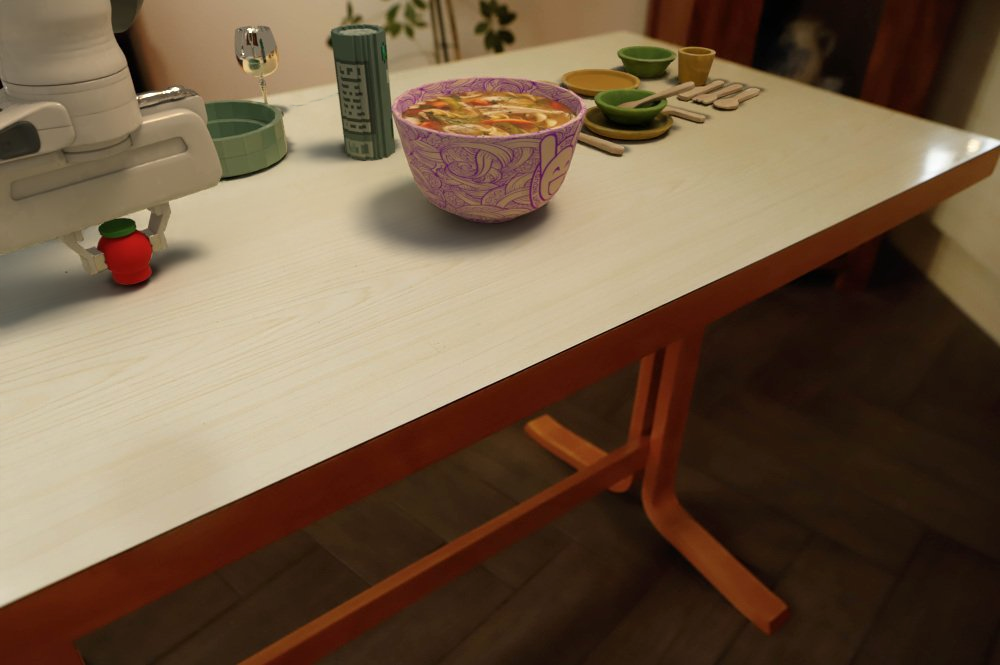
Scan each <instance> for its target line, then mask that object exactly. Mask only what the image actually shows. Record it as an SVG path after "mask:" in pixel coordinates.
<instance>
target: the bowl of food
mask: <svg viewBox="0 0 1000 665" xmlns="http://www.w3.org/2000/svg"><path fill="white" fill-rule="evenodd" d="M535 80H536V79H529V78H521V77H520V78H519V77H509V76H472V77H471V76H469V77H459V78H448V79H444V80H443V79H442V80H438V81H433V82H428V83H423V84H421V85H418V86H416V87H412V88H410V89H407V90H406V91H405V92H403V93H402V94H400V95H398V96H397V97H396V98H394V100H393V103H392V105H391V106H392V108H391V111H392V118H393V122H394V124H395V127H396V130H397V132H398V137H399V139H400V142H401V146H402V149H403V152H404V155H405V158H406V161H407V164H408V167H409V170H410V172H411V175H412V178H413V179H414V182H415V184H416V186H417V187H418V189H419V191H420V192H421V194H423V195H424V197H425V198H426V199H427V200H428V201H429V203H431V204H432V205H434V206H436V207H438V208H439V209H440V210H443V211H445V212H448V213H450V214H453V215H456V216H459V217H460V218H462V219H464V220H467V221H470V222H475V223H483V224H497V223H503V222H509V221H511V220H514V219H517V218H519V217H520V216H523V215H526V214H529V213H531V212H534V211H536V210H538V209H540V208H541V207H543V206H544V205H545V204H547V203H549V202H550V201H551V200H552V199H553V197H554V196H555V195H556V194H557V193H558V191H559V190H560V188H561V187H562V185H563V183H564V182H565V179H566V177H567V174H568V171H569V169H570V166H571V163H572V160H573V157H574V153H575V151H576V148H577V144H578V141H579V140H578V137H579V134H580V132H581V131H582V127H583V124H584V123H583V121H584V118H585V114H586V111H587V109H588V108H587V106H586V103H585V100H584V98H582V96H581V97H580V95H578V94H577V93H575V92H573V91H571V90H569V89H568V88H565V87H562V86H560V85H559V86H560V87H559V86H557V85H554V84H550V83H545V82H540V81H535Z"/></svg>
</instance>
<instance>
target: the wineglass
mask: <svg viewBox="0 0 1000 665" xmlns="http://www.w3.org/2000/svg"><path fill="white" fill-rule="evenodd" d="M234 54H235V59H236V62H237V65H238V66H239V68H240V70H241V71H242V72H243V73H245V74H246V75H248V76H251V77H254V78H258V79H259V80H258V86H259V89H260V91H261V93H262V97H263V103H267V104H269V103H268V98H267V97H268V96H267V82H266V80H265V78H266V77H268V76H270V75H272V74H273V73H275V72H276V71H277V70H278V67H279V65H280V54H279V49H278V45H277V41H276V39H275V37H274V34H273V31H272V29H271V27H269V26H265V25H247V26H240V27H237V28H236V29H235V30H234ZM281 112H282V111H281ZM284 117H285V113H284V112H282V118H284Z"/></svg>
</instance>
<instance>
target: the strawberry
mask: <svg viewBox="0 0 1000 665" xmlns="http://www.w3.org/2000/svg"><path fill="white" fill-rule="evenodd" d="M136 223H137V222H136V221H135V220H134V219H132V218H129V217H119V218H116V219H113V220H110V221H107V222H104V223H101V224H99V225H98V226H97V230H98V233H99V235H100V238H99V239H98V242H97V246H96V248H97V249H98V250H99V251H101V252H103V253H104V256H105V259H106V260H105V263H106V264H107V265H108V269H107V271H109V272H111V275H112V278H113V281H114V282H115V283H117V284H119V285H134V284H139V283H141V282H143V281H145V280H147V279H149V278H150V277H151V275H152V269H151V266H150V262H151V260H152V256H153V253H152V247H151V244H150V242H149V240H148V238H147V237H146V236H145V235H144V234H143V233H142V232H140V231H141V230H139V229H137V224H136Z"/></svg>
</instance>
